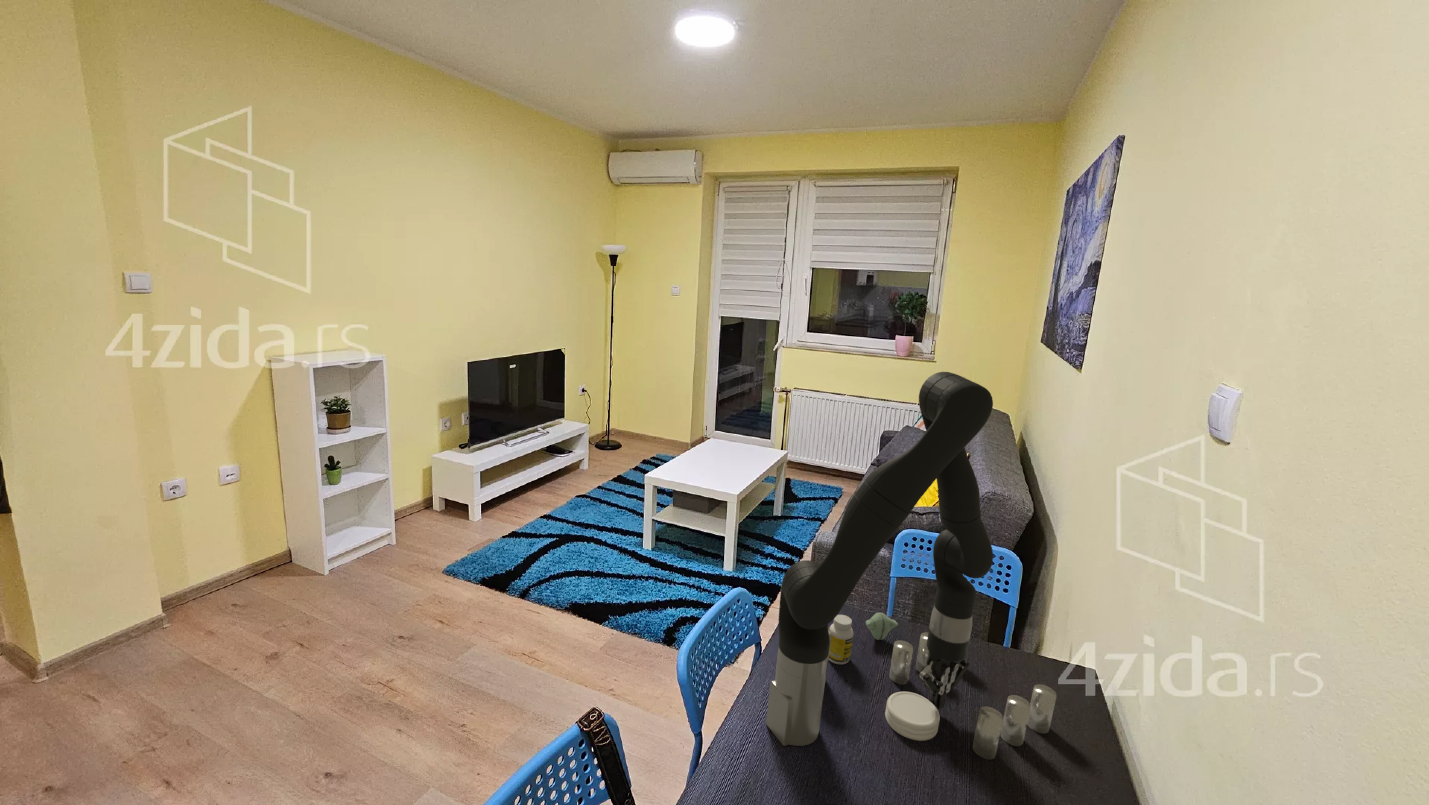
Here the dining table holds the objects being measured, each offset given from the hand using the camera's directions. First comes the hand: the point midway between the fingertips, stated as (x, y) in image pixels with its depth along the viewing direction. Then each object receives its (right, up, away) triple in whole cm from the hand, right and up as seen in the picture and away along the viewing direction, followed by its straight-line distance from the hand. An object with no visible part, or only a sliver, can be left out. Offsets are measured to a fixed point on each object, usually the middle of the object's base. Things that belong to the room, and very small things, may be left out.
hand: (937, 706), depth 121 cm
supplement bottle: (-17, +3, +16) cm, 23 cm away
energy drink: (-24, +2, +8) cm, 25 cm away
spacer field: (+7, -1, +4) cm, 9 cm away
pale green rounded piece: (-5, +4, +24) cm, 25 cm away
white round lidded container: (-6, -2, -2) cm, 7 cm away
